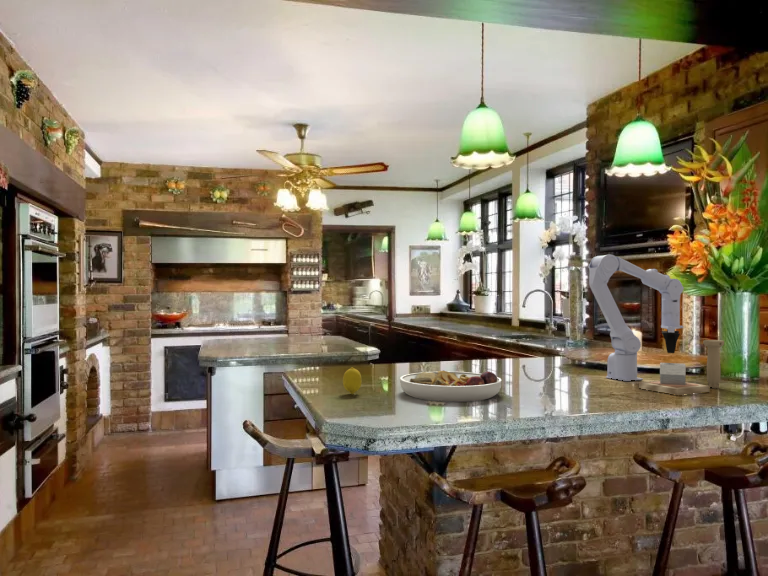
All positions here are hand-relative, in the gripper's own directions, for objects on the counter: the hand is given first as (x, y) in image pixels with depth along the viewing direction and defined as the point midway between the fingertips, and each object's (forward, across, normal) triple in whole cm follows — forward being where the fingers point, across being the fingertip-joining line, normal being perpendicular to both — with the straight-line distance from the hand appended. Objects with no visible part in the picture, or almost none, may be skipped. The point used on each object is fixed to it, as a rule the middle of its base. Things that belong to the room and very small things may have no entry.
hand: (670, 352), depth 212 cm
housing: (+7, -26, 0) cm, 27 cm away
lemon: (+10, -73, +87) cm, 114 cm away
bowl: (+10, -60, +61) cm, 86 cm away
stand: (+9, -26, 0) cm, 28 cm away
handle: (+10, -15, -12) cm, 22 cm away
